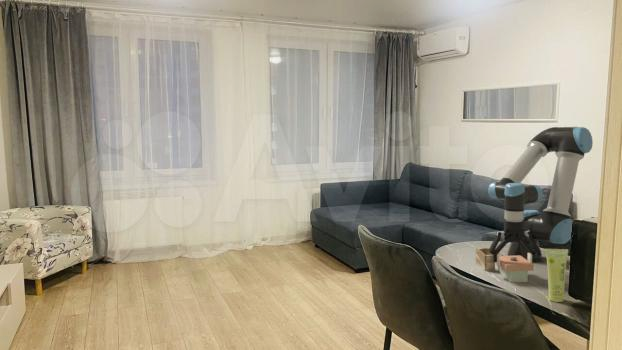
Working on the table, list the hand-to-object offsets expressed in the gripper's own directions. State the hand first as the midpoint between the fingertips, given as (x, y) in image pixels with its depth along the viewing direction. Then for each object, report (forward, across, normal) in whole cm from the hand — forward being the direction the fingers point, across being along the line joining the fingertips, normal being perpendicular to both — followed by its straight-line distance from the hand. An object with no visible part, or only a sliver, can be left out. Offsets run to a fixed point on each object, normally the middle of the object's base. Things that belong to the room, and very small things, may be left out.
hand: (513, 269), depth 193 cm
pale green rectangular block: (+4, 0, 0) cm, 4 cm away
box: (+4, +5, -15) cm, 16 cm away
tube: (+4, -6, +25) cm, 26 cm away
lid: (-1, 0, 0) cm, 1 cm away
